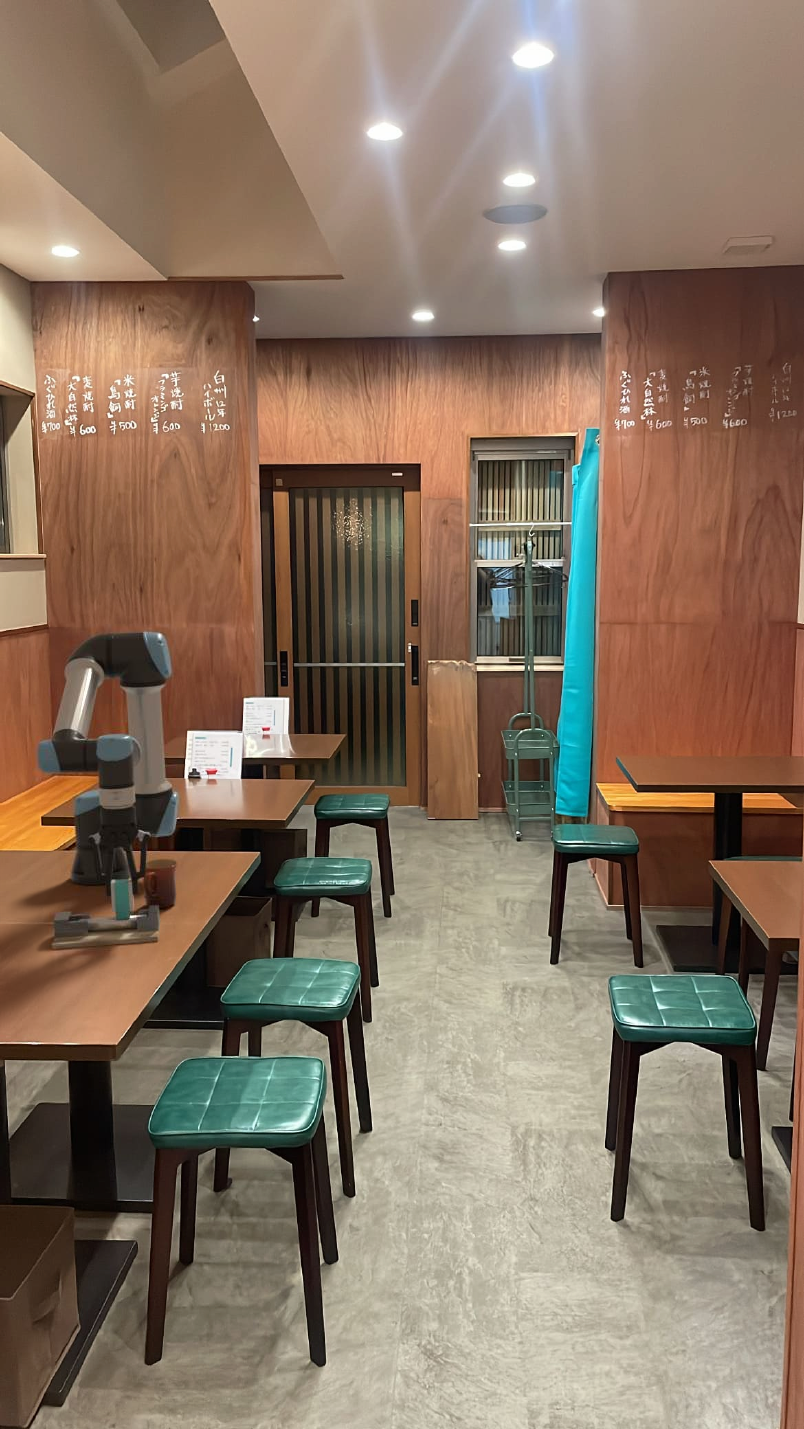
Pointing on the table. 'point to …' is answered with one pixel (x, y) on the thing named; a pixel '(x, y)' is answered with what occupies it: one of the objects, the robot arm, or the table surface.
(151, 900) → the mug
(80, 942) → the board
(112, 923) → the teal and grey t-piece
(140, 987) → the table surface
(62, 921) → the bracket
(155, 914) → the socket
